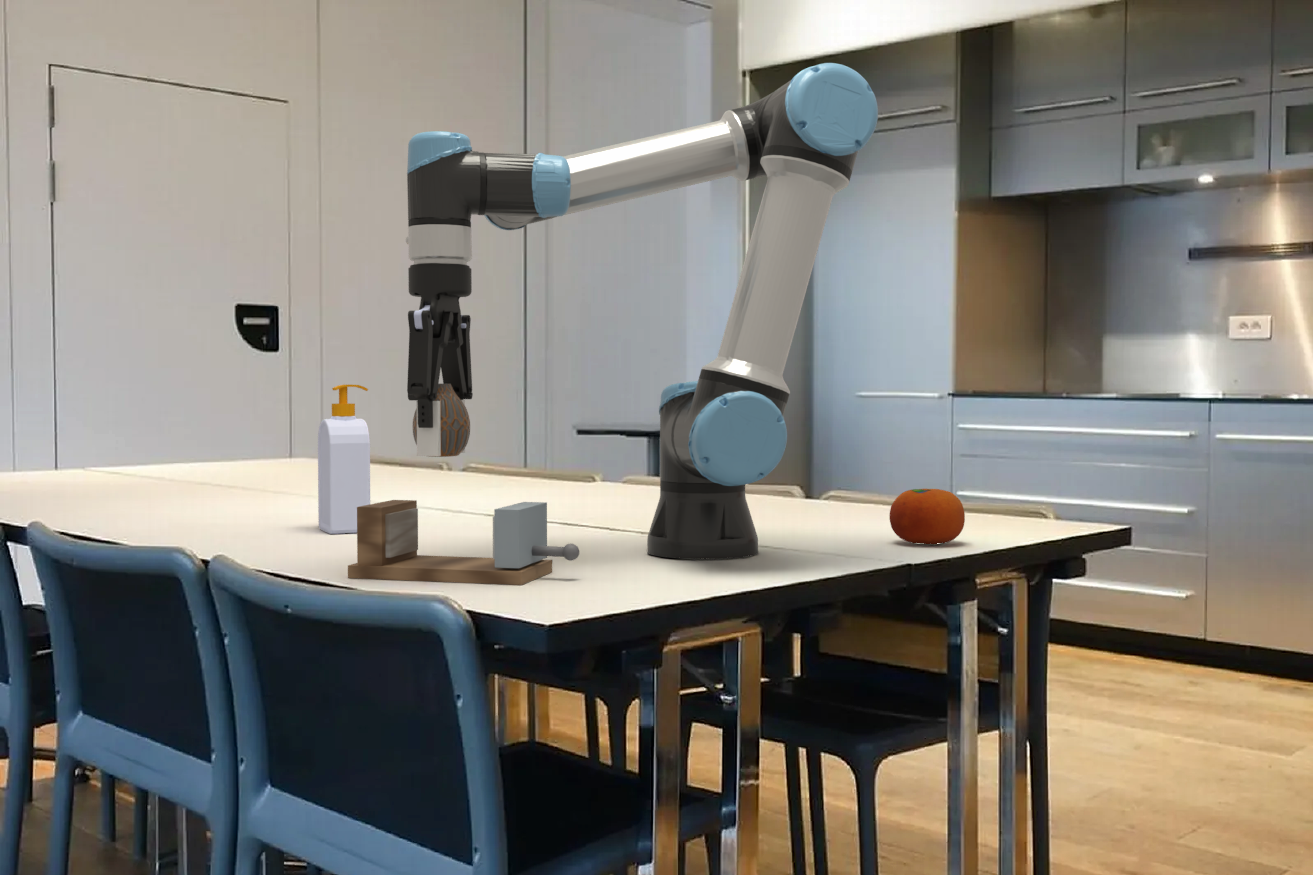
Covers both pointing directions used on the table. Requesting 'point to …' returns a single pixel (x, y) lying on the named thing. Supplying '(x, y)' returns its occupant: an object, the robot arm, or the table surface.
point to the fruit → (927, 516)
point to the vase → (450, 422)
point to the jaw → (524, 536)
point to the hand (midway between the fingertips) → (441, 453)
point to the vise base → (393, 555)
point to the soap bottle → (342, 467)
